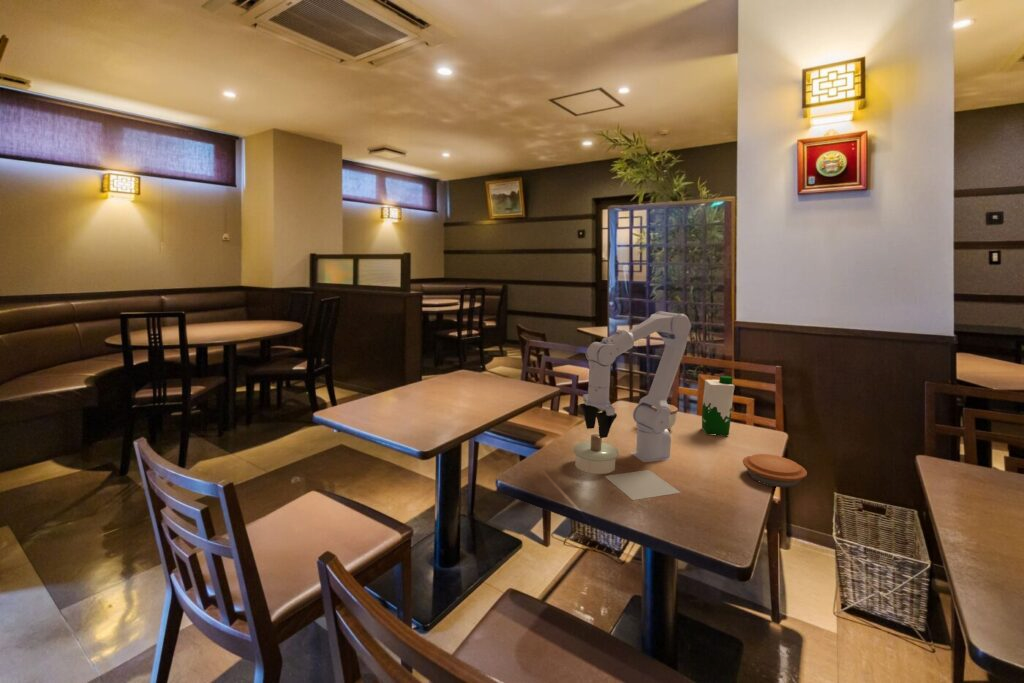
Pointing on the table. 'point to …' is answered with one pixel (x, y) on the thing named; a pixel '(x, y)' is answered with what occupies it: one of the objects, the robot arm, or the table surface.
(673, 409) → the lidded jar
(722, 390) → the milk carton
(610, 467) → the bowl
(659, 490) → the mat
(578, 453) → the lid
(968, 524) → the table surface
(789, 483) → the pie
